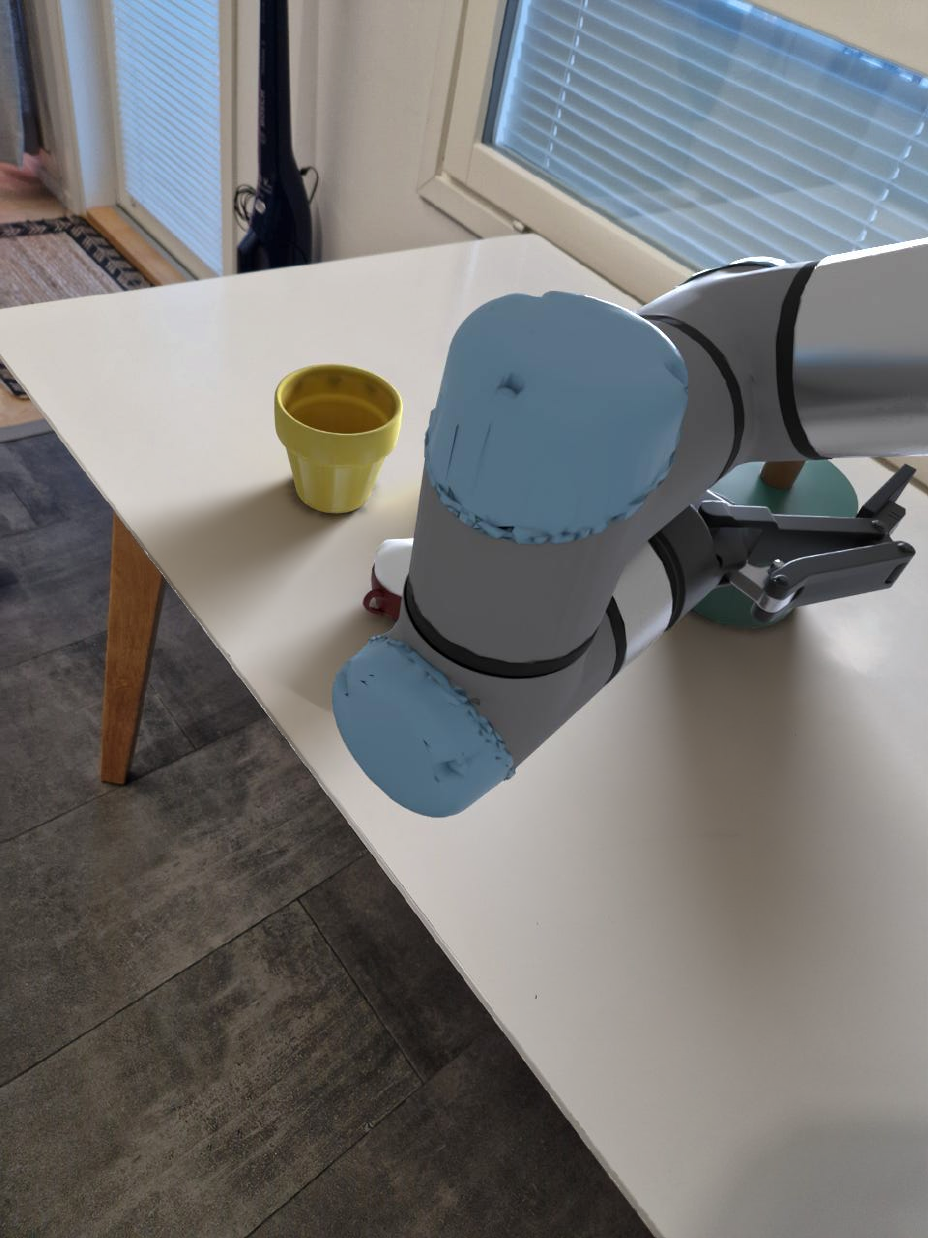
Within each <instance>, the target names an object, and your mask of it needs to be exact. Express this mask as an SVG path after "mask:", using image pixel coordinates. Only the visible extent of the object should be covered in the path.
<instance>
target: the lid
mask: <svg viewBox="0 0 928 1238" xmlns="http://www.w3.org/2000/svg"><path fill="white" fill-rule="evenodd" d="M709 490H711V491H713V492H715V493H718V494H720V495H722V496H725V497H726V498H728V499H730V500H731V501H733V502H735V503H736V505H739V506H764V507H767V508H769V510H770V512H771V513H772V514H777V515H802V516H828V517H854V518H855V517H856V515H857V513H858V512H859V498H858V495H857V492H856V490H855V488H854V485H852V483H851V481H850V480H849V478H847V476H846V475H845V474H844V473H843V471H841V470H840V469H839V467H837V466H836V465H835V464H834V463H833V462H832V461H830V459H828V460H806V461H772V462H750V463H744V464H741V465H738V466H736V467H735V468H734V469H732V470H731V471H730V472H729V473H728V474H726V475H725V476H724V477H723V478H721V479H720V480H719V481H718V482H717V483H715V484H714V485H713V486H712V487H711V488H709Z"/></svg>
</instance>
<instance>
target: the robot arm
mask: <svg viewBox="0 0 928 1238" xmlns="http://www.w3.org/2000/svg"><path fill="white" fill-rule="evenodd" d="M423 441H424V444H423V446H424V448H423V458H424V462H423V470H422V475H421V476H422V477H421V484H420V489H419V490H420V491H419V497H418V504H417V512H416V518H415V525H414V532H413V538H414V539H413V546H412V553H411V559H410V566H409V572H408V575H407V577H406V580H405V584H404V588H403V594H402V601H401V608H400V615H399V619H398V621H397V620H396V622H395V624H394V625H393V627H392V628H391V629H390V630H388V631H386V632H384V633H382V634H380V635H374V636H372V637H371V638H369V639H368V641H367V643H366V645H364V646H363V647H362V648H361V649H360V650H358V651H357V652H356V653H355V654H354V655H353V656H352V657H350V658H349V659H348V660H347V661H346V662H345V663H344V664H343V665H342V666H341V667H340V669H339V671H338V672H337V673H336V674H335V677H334V680H333V684H332V689H331V707H332V713H333V717H334V721H335V724H336V727H337V729H338V733H339V734H340V737H341V739H342V741H343V743H344V745H345V747H346V748H347V750H348V752H349V753H350V755H351V757H352V758H353V760H354V761H355V762H356V764H357V765H358V766H359V768H360V769H361V770H362V772H363V774H364V775H365V776H366V777H367V778H368V779H369V780H370V781H371V782H372V783H373V784H374V785H375V786H376V787H378V789H380V790H381V791H382V792H383V793H384V794H385V795H386V796H387V797H389V799H391V800H392V801H393V802H394V803H396V804H398V805H399V806H400V807H402V808H404V809H406V810H408V811H410V812H411V813H415V814H416V815H420V816H424V817H427V818H433V819H439V818H440V819H443V818H449V817H452V816H456V815H459V814H461V813H462V812H464V811H465V810H466V809H468V808H469V807H470V806H472V805H473V804H474V803H476V802H477V801H478V800H480V799H481V798H482V797H484V796H485V795H486V794H488V793H489V792H490V791H492V790H493V789H494V788H496V787H497V786H498V785H499V784H501V783H502V782H505V781H509V780H511V779H512V778H513V777H514V776H515V775H516V769H517V768H518V767H519V766H520V765H521V764H522V763H523V762H525V761H526V760H527V759H528V758H529V757H530V756H531V755H532V754H533V753H534V752H536V751H537V750H538V749H539V748H540V747H541V746H542V745H543V744H544V743H545V742H546V741H547V740H548V739H550V738H551V736H553V735H554V734H555V733H556V732H558V730H559V729H560V728H561V727H563V726H564V725H565V724H566V723H567V722H568V721H569V720H570V719H571V718H573V717H574V716H575V714H577V713H578V712H579V711H580V710H581V709H582V708H583V707H585V705H587V703H588V702H590V701H591V700H592V699H594V697H596V695H597V694H599V693H600V691H602V689H603V688H605V687H606V686H607V685H608V684H609V683H610V682H612V681H613V679H615V678H616V677H617V676H618V675H619V674H620V673H621V672H623V670H625V669H626V668H627V667H628V666H629V665H630V664H631V663H632V662H634V661H635V660H636V659H637V658H638V657H639V656H640V655H642V654H643V653H644V652H645V651H646V650H647V649H648V648H650V647H651V646H652V645H653V644H654V643H655V642H656V641H658V639H660V638H661V636H662V635H663V634H664V633H666V632H668V631H669V630H670V629H671V628H672V627H673V626H674V625H675V624H677V623H678V622H679V621H680V620H681V619H682V618H684V616H686V615H687V614H688V613H689V612H690V611H691V610H692V608H693V607H694V606H695V605H696V604H698V603H699V602H700V601H701V600H702V599H703V598H704V597H705V596H706V595H707V594H708V593H709V592H710V591H712V590H713V589H715V588H718V587H725V586H729V585H732V584H733V585H734V586H735V587H736V588H738V589H739V590H740V591H742V592H743V593H744V594H746V595H747V596H748V597H750V598H751V599H752V600H754V601H755V603H754V604H753V606H752V608H751V615H752V616H753V617H754V618H755V619H756V620H758V621H760V622H763V623H769V622H772V621H773V620H774V619H776V618H777V617H778V616H780V615H781V614H783V613H784V612H785V611H787V610H788V609H790V608H792V609H794V608H799V607H803V606H810V605H814V604H819V603H824V602H829V601H833V600H839V599H843V598H849V597H853V596H859V595H863V594H868V593H873V592H879V591H882V590H883V591H884V590H888V589H891V588H892V587H893V586H894V584H895V583H896V582H897V580H898V579H899V577H900V576H901V575H902V574H903V572H904V571H905V570H906V568H907V566H908V565H909V564H910V562H911V561H912V560H913V558H914V557H915V555H916V548H915V547H914V546H913V545H911V544H910V543H908V542H907V541H904V540H893V539H892V537H891V536H892V535H893V534H894V532H895V531H896V529H897V528H898V526H899V525H900V523H901V522H902V520H903V519H904V518H905V516H906V514H907V509H906V508H905V507H904V506H902V505H900V504H898V503H896V502H897V501H898V500H899V498H900V496H901V495H902V493H903V492H904V490H905V489H906V487H907V486H908V484H909V483H910V481H911V480H912V478H913V477H914V475H915V473H916V472H917V470H918V469H917V468H915V467H913V466H912V465H909V464H908V463H905V462H904V464H903V465H902V466H901V467H900V468H899V469H898V470H897V471H896V472H895V473H894V474H893V475H892V476H890V478H888V480H887V481H885V483H883V485H882V486H880V487H879V488H878V490H876V491H875V493H874V494H873V495H871V496H870V498H869V499H868V500H866V501H865V502H864V504H862V505H861V507H860V509H858V513H857V515H856V517H855V518H854V517H828V516H802V515H777V514H772V513H771V512H770V510H769V508H767V507H764V506H739V505H736V503H735V502H733V501H731V500H730V499H728V498H726V497H725V496H722V495H720V494H718V493H715V492H713V491H711V490H709V488H711V487H712V486H713V485H714V484H715V483H717V482H718V481H719V480H720V479H721V478H723V477H724V476H725V475H726V474H728V473H729V472H730V471H731V470H732V469H734V468H735V467H736V466H738V465H741V464H744V463H750V462H772V461H806V460H833V459H850V458H851V459H853V458H856V459H857V458H887V457H888V458H889V457H890V458H893V457H894V458H895V457H927V456H928V237H925V238H919V239H914V240H909V241H904V242H898V243H894V244H888V245H883V246H878V247H872V248H867V249H861V250H856V251H849V252H846V253H841V254H835V255H831V256H827V257H825V258H821V259H817V260H809V261H800V262H794V263H792V262H790V261H787V260H784V259H780V258H775V257H768V256H756V257H755V256H754V257H753V256H752V257H747V258H743V259H742V258H741V259H740V260H735V261H733V262H730V263H729V262H728V263H725V264H721V265H718V266H715V267H712V268H707V269H704V270H702V271H700V272H699V271H698V272H696V273H694V274H693V275H691V276H690V277H688V279H686V280H685V281H683V282H682V283H680V284H679V285H677V286H675V287H674V288H673V289H672V290H669V291H668V292H666V293H665V294H663V295H661V296H659V297H657V298H656V299H654V300H651V301H650V302H648V303H647V304H644V305H642V306H641V307H639V308H637V309H636V310H634V311H630V310H629V309H627V308H625V307H622V306H620V305H617V304H615V303H612V302H610V301H606V300H603V299H600V298H597V297H594V296H590V295H585V294H582V293H574V292H567V291H562V290H549V291H546V292H544V293H543V294H542V295H541V296H534V295H530V294H527V293H522V292H521V293H520V292H513V293H508V294H505V295H503V296H499V297H497V298H496V297H495V298H493V299H491V300H489V301H487V302H486V303H484V304H481V305H480V306H478V307H477V308H476V309H474V310H473V311H472V312H471V313H470V314H469V315H468V316H466V318H465V319H464V320H462V322H461V324H460V325H459V326H458V328H457V329H456V331H455V333H454V334H453V337H452V339H451V342H450V344H449V347H448V351H447V356H446V360H445V364H444V368H443V372H442V377H441V381H440V385H439V390H438V394H437V399H436V403H435V407H434V408H433V409H431V410H430V414H429V419H428V426H427V429H426V431H425V433H424V440H423ZM744 528H748V529H747V531H746V533H744ZM760 563H772V565H771V566H765V567H755V566H757V565H758V564H760Z"/></svg>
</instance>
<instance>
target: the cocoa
mask: <svg viewBox="0 0 928 1238" xmlns="http://www.w3.org/2000/svg"><path fill="white" fill-rule="evenodd" d="M413 539H414V537H412V538H410V537H409V538H395V539H394V538H393V539H391V538H390V539H385V540H384V541H383V542H382V543H381V544H380V545H379V546H378V548H377V549H376V550H375V553H374V554H375V555H374V563H373V565H372V568H371V575H370V583H371V584H370V585H371V590H369V591H368V592H367V593H366V594H365V595H364V597H363V599H362V606H363V607H364V609H365V610H366V611H367V612H369V613H370V614H373V615H376V616H381V617H383V616H386V617H388V618H391V619H392V620H395V621H396V622H397V621H398V619H399V615H400V608H401V601H402V594H403V588H404V584H405V580H406V577H407V575H408V572H409V566H410V559H411V553H412V546H413ZM373 600H375V603H376V606H377V607H373V606H371V602H372V601H373Z"/></svg>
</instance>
